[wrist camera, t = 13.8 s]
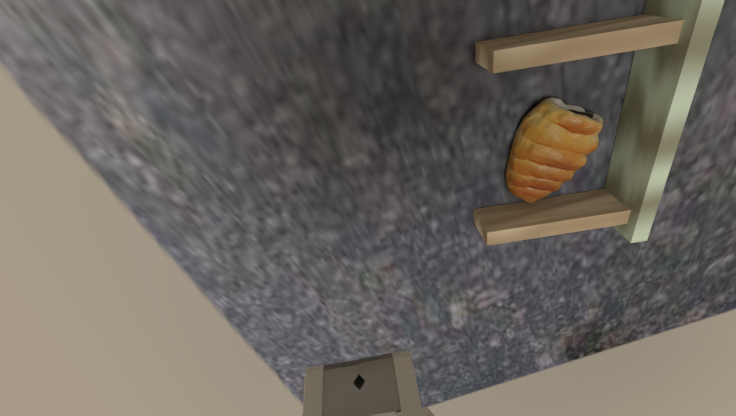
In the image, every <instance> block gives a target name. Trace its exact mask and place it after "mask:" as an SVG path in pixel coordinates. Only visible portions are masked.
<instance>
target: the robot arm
mask: <svg viewBox="0 0 736 416" xmlns="http://www.w3.org/2000/svg"><path fill="white" fill-rule="evenodd" d="M392 355H393V356H392ZM303 416H434V414H433V413H432V412H431V411H430V410H429V409H428V408H427V407H426V408H422V406H421V401H420V396H419V392H418V387H417V382H416V377H415V372H414V367H413V362H412V357H411V353H410V351H409V350H408V351H403V352H397V353H393V354H392V353H389V354H383V355H378V356H372V357H367V358H362V359H358V360H352V361H346V362H339V363H333V364H327V365H319V366H313V367H307V369H306V373H305V385H304V400H303Z"/></svg>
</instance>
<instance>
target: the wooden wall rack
mask: <svg viewBox="0 0 736 416" xmlns="http://www.w3.org/2000/svg"><path fill="white" fill-rule="evenodd" d="M723 3H724V0H646V4H645V8H644V13H643V15H637V16H631V17H625V18H619V19H613V20H607V21H601V22H595V23H589V24H583V25H577V26H571V27H565V28H559V29H552V30H546V31H540V32H534V33H528V34H522V35H516V36H510V37H504V38H498V39H492V40H486V41H480V42H475V63H477V64H479V65H480V66H482V67H483V68H485V69H487V70H488V71H490V72H491V73H499V72H505V71H511V70H518V69H524V68H530V67H536V66H542V65H548V64H554V63H560V62H566V61H573V60H579V59H585V58H591V57H597V56H603V55H609V54H615V53H621V52H628V51H634V50H635V53H634V57H633V62H632V66H631V71H630V75H629V80H628V84H627V89H626V93H625V98H624V102H623V106H622V111H621V115H620V120H619V124H618V129H617V133H616V138H615V142H614V147H613V151H612V155H611V160H610V164H609V169H608V173H607V178H606V182H605V187H604V189H598V190H592V191H586V192H579V193H573V194H567V195H560V196H554V197H548V198H542V199H538V200H536V201H535V202H532V203H530V202H527V201H522V202H516V203H510V204H504V205H497V206H491V207H485V208H478V209H474V223H475V225H476V227H477V229H478V230H479V232H480V234H481V236H482V238H483V239H484V241H485V243H486V245H487V246H488V245H494V244H500V243H507V242H513V241H520V240H526V239H532V238H539V237H545V236H552V235H558V234H564V233H571V232H577V231H583V230H590V229H596V228H603V227H609V226H612V227H614V228H615V229H616V230H617V231H618V232H619V233H620V234H621V235H622V236H623V237H625V238H626V239H627V240H628V241H629V242H630V243H634V242H641V241H647V239H648V236H649V233H650V230H651V227H652V224H653V220H654V217H655V214H656V211H657V208H658V205H659V202H660V199H661V196H662V193H663V189H664V186H665V183H666V180H667V177H668V174H669V171H670V168H671V165H672V162H673V158H674V155H675V152H676V149H677V146H678V143H679V140H680V137H681V134H682V131H683V127H684V124H685V121H686V118H687V115H688V112H689V109H690V106H691V103H692V100H693V96H694V93H695V90H696V87H697V84H698V81H699V78H700V75H701V72H702V69H703V65H704V62H705V59H706V56H707V53H708V50H709V47H710V44H711V41H712V38H713V34H714V31H715V28H716V25H717V22H718V19H719V16H720V13H721V10H722V7H723Z"/></svg>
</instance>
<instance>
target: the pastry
mask: <svg viewBox="0 0 736 416" xmlns="http://www.w3.org/2000/svg"><path fill="white" fill-rule="evenodd" d="M602 127H603V119H602V118H601V117H600V116H599V115H598V114H595V113H589V112H585V109H583V108H581V107H578V106H572V105H565V104H564V102H563V101H562V100H560V99H556V98H554V97H552V98H548V99H545V100H544V101H542V102H541V103H540V104H538V105H537V106H536V107H535V108H534V109H533V110H531V111H530V112H529V113H528V114H527V115H526V116H525V117H524V118H523V121H522V123H521V125H520V126H519V128H518V129H517V131H516V135H515V138H514V140H513V145H512V147H511V151H510V156H509V160H508V164H507V169H506V183H507V187H508V189H509V191H510V192H511V193H512V194H513V195H514V196H516V197H518V198H521V199H523V200H525V201H527V202H530V203H532V202H535V201H536V200H538V199H542V198H544V197H546V196H547V195H548V194H550V193H551V192H553V191H556V190H558V189H559V188H560V186H561V184H562V183H563V182H565V181H567V180H570V179H572V177H573V175H574V172H575V171H576V170H578V169H580V168H581V167H582V166H584V165H585V164H586V161H587V157H586V156H587V155H588V154H589V153H591V152H593V151H595V150H596V149H597V147H598V145H599V138H598V133H599V132H600V131H601V129H602Z"/></svg>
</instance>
